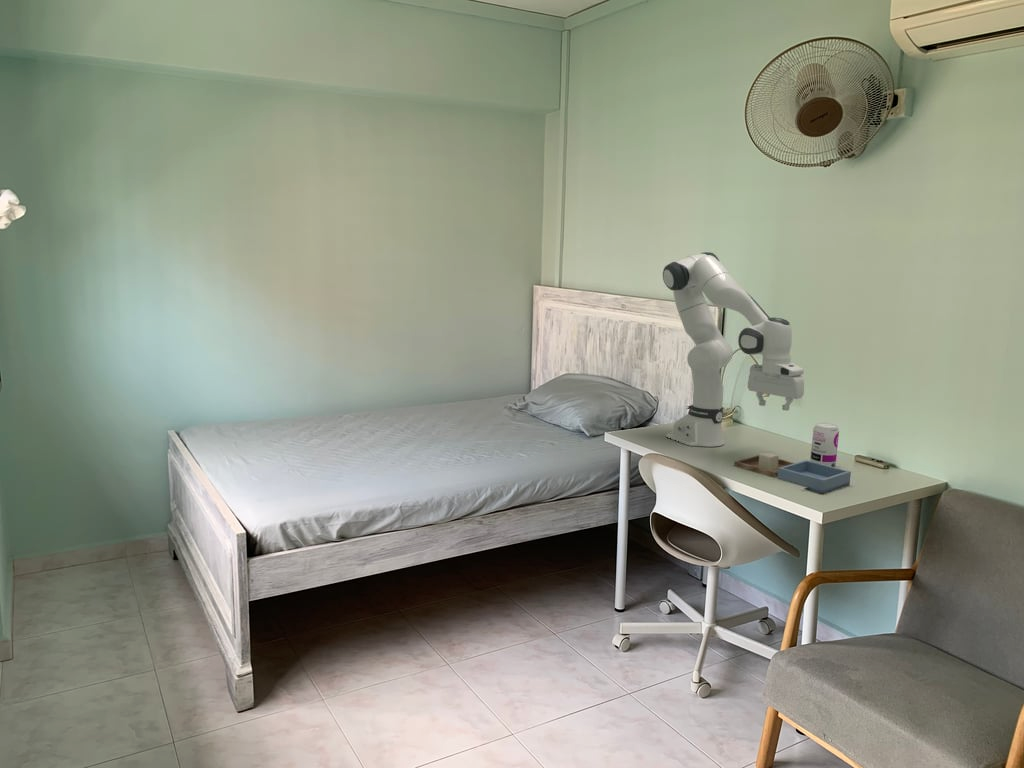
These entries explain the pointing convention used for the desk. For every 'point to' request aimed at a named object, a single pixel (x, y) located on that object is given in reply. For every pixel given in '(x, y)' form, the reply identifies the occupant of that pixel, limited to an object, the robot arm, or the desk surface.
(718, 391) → the robot arm
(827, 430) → the supplement can
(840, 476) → the slate-blue bin
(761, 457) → the sandstone block
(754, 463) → the walnut tray
